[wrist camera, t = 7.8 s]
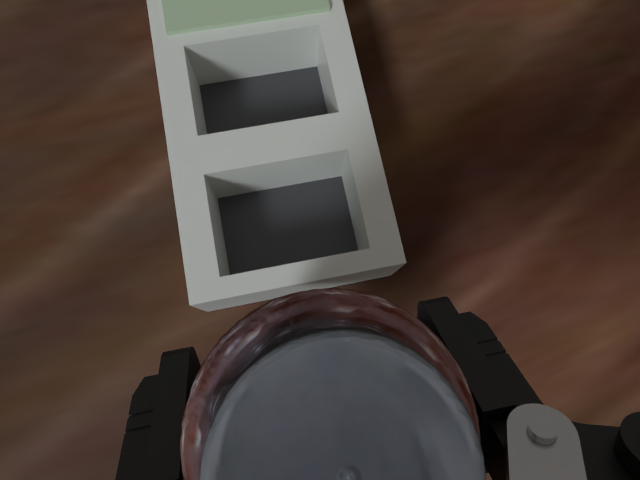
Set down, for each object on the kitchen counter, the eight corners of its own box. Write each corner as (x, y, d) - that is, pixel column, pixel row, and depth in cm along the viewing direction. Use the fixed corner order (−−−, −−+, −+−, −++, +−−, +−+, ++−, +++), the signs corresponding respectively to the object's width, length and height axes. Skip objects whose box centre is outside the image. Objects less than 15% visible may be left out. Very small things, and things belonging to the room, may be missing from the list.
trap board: (207, 311, 25) (187, 304, 21) (155, -37, 29) (131, -100, 25) (390, 275, 26) (407, 261, 21) (312, -59, 30) (314, -124, 26)
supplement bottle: (341, 284, 18) (409, 186, 7) (428, 421, 17) (659, 548, 6) (205, 369, 17) (46, 404, 6) (289, 519, 16) (275, 870, 5)
